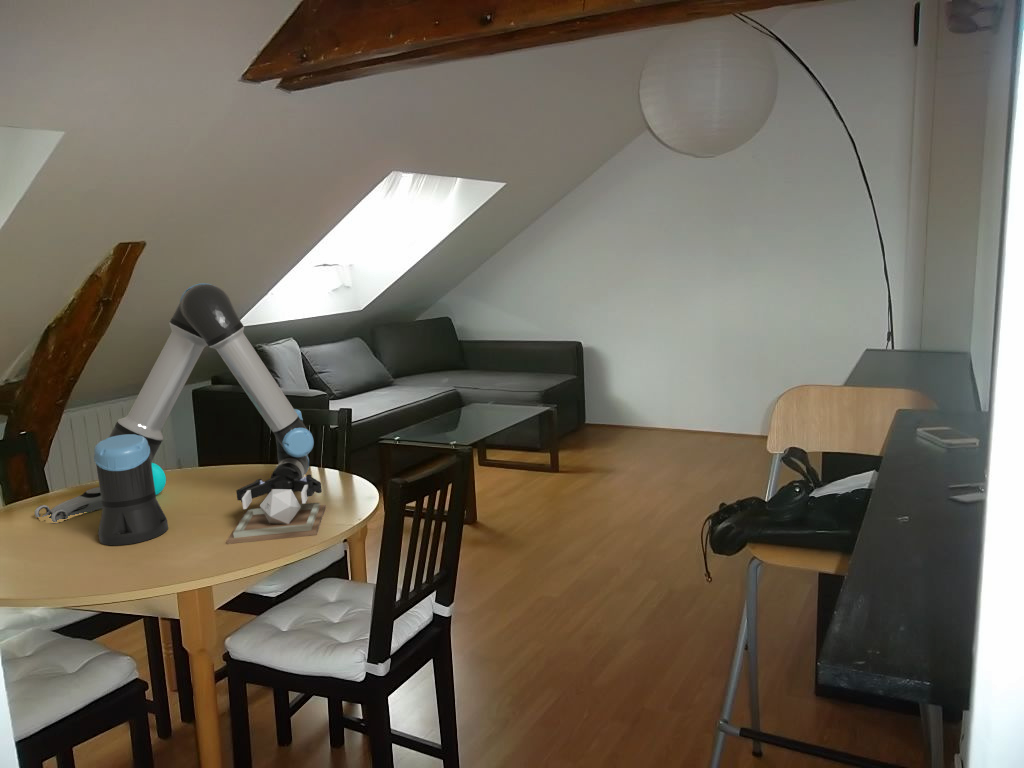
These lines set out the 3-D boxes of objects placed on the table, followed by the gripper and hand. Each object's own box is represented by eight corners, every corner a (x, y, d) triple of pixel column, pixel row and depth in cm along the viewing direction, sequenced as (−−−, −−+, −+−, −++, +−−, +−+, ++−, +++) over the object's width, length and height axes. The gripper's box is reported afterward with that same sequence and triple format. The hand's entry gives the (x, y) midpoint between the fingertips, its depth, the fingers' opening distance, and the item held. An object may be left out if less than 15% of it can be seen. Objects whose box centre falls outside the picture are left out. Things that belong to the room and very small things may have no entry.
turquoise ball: (117, 507, 216) (112, 471, 214) (134, 496, 226) (129, 461, 224) (154, 505, 216) (149, 469, 214) (169, 493, 226) (165, 459, 224)
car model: (31, 520, 210) (28, 502, 209) (120, 494, 230) (117, 477, 229) (53, 526, 204) (50, 508, 203) (142, 499, 224) (139, 481, 223)
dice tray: (245, 515, 202) (244, 508, 201) (325, 507, 204) (325, 500, 204) (227, 543, 182) (226, 535, 182) (316, 534, 184) (315, 526, 184)
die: (265, 520, 196) (248, 498, 189) (293, 497, 200) (278, 474, 193) (282, 538, 191) (265, 516, 185) (311, 514, 195) (295, 491, 188)
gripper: (337, 485, 212) (329, 510, 191) (240, 494, 209) (221, 521, 188) (334, 458, 210) (325, 480, 190) (237, 466, 208) (217, 490, 187)
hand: (273, 500), depth 189 cm, fingers open, 13 cm apart
